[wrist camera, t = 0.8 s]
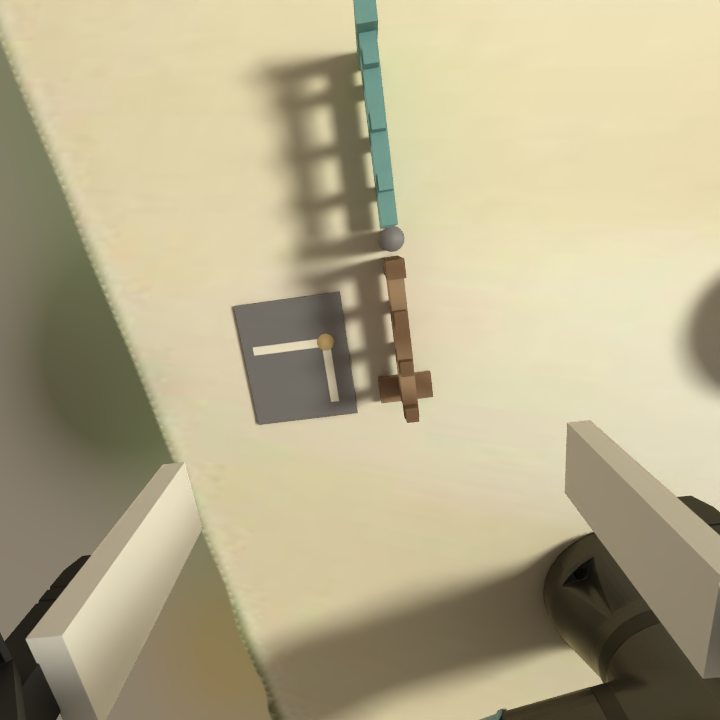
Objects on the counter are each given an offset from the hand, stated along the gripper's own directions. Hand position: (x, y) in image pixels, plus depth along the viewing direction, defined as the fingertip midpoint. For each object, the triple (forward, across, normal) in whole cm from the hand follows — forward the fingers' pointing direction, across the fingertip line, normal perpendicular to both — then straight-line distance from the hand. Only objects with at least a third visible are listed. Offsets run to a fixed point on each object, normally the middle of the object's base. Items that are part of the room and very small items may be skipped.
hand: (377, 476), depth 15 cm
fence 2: (+27, -3, +2) cm, 28 cm away
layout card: (+28, +7, +4) cm, 29 cm away
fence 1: (+28, -3, -13) cm, 31 cm away
